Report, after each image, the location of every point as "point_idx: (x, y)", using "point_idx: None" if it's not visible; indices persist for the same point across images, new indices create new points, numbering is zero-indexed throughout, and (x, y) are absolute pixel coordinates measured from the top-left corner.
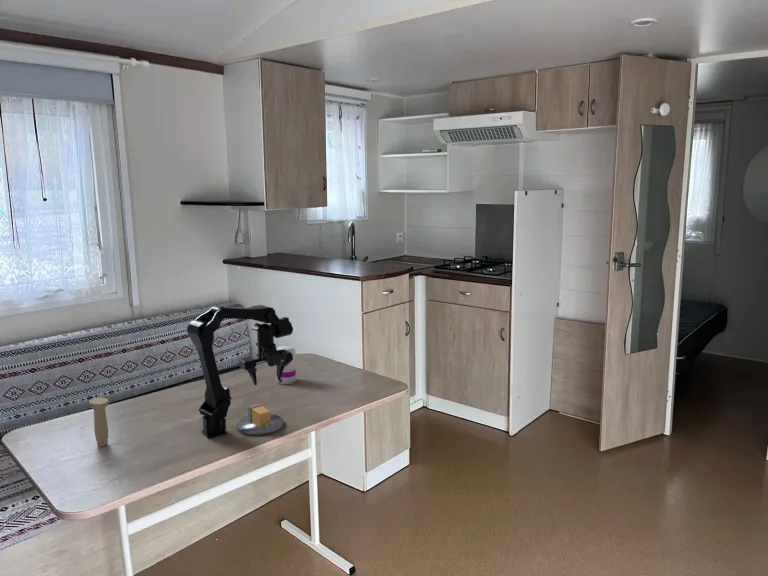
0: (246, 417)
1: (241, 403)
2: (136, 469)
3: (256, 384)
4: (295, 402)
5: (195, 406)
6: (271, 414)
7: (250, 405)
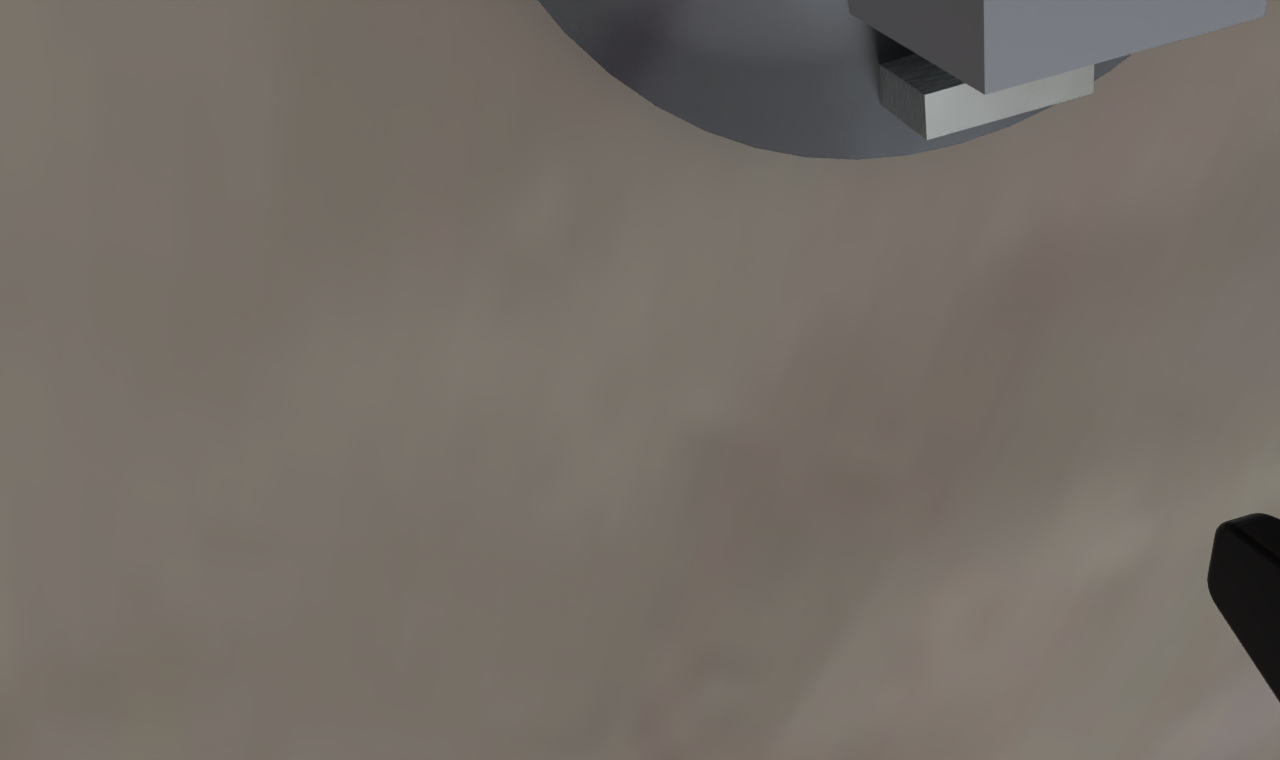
0: None
1: (838, 654)
2: None
3: (1254, 533)
4: (61, 539)
5: None
6: (596, 35)
7: (1202, 28)
